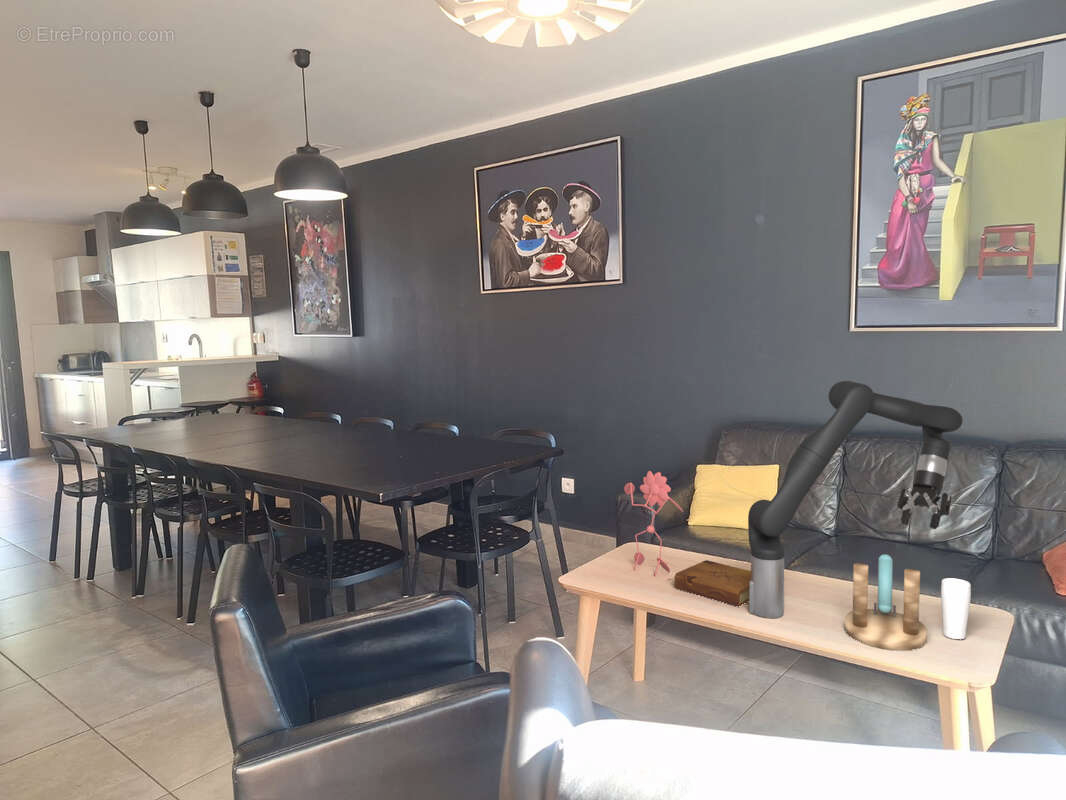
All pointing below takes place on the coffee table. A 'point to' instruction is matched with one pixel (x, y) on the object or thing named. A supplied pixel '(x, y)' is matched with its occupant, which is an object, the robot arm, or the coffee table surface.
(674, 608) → the coffee table surface
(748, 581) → the diary
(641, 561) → the figurine
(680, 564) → the coffee table surface
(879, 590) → the teal capsule cylinder
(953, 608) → the drinking glass
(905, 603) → the stool
